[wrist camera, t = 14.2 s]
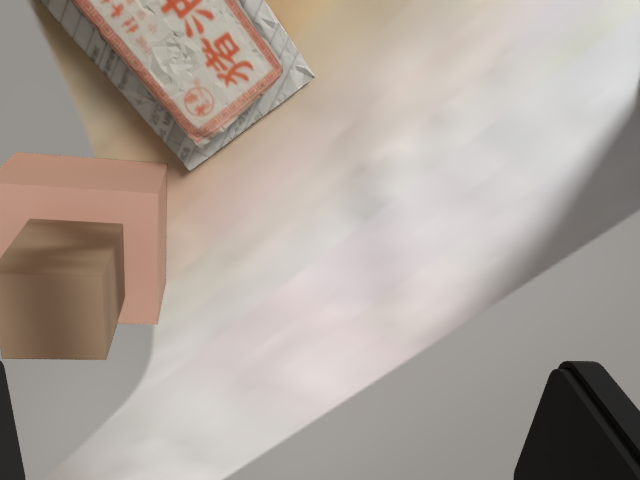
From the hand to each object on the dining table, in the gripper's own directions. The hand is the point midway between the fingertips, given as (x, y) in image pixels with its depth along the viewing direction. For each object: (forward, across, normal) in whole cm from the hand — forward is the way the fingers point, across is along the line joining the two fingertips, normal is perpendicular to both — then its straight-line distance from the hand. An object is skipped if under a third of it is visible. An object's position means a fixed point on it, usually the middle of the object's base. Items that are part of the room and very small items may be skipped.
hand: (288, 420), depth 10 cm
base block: (+28, +11, +10) cm, 31 cm away
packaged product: (+29, +6, -4) cm, 30 cm away
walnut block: (+23, +10, +10) cm, 27 cm away
